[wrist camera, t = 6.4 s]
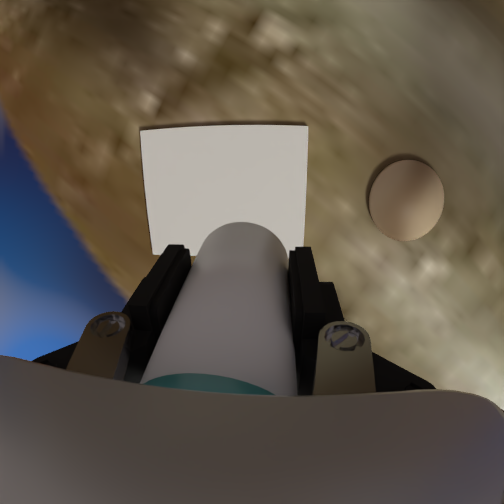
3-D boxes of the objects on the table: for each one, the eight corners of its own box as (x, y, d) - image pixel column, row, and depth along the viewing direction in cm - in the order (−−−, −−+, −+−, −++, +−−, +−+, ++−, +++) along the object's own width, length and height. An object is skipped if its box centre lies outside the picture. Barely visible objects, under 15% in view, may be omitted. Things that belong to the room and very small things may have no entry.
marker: (291, 221, 12) (317, 445, 4) (287, 303, 14) (293, 514, 5) (193, 220, 12) (79, 417, 4) (201, 301, 14) (139, 498, 6)
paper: (307, 126, 21) (308, 126, 21) (302, 257, 25) (302, 258, 25) (141, 130, 22) (140, 130, 21) (154, 252, 26) (153, 254, 26)
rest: (446, 164, 21) (449, 165, 20) (434, 240, 24) (436, 242, 23) (372, 155, 21) (374, 156, 21) (364, 237, 24) (365, 239, 24)
